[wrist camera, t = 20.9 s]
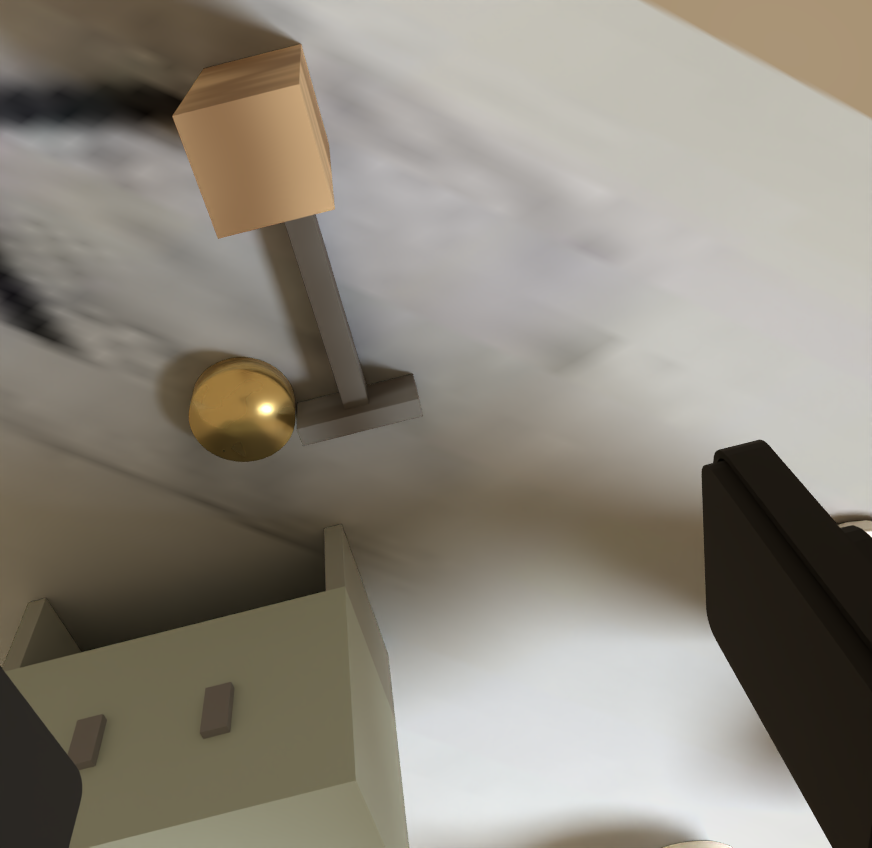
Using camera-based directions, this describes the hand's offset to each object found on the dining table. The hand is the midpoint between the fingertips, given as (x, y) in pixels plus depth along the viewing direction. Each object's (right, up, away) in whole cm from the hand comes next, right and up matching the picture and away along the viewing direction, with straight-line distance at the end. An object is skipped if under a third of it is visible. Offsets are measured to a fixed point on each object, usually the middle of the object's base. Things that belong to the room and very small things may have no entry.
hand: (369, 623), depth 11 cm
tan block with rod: (-5, +10, +26) cm, 29 cm away
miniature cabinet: (-12, -10, +38) cm, 41 cm away
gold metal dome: (-9, +4, +30) cm, 32 cm away
